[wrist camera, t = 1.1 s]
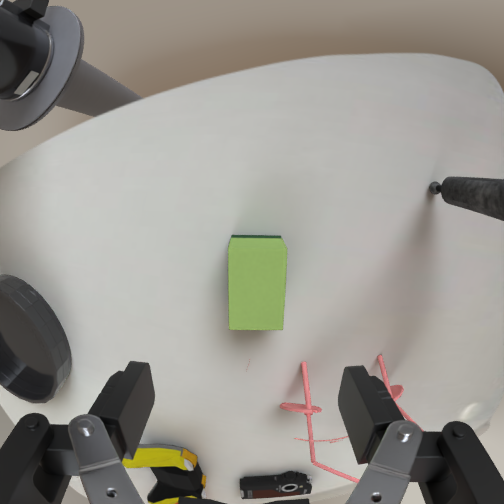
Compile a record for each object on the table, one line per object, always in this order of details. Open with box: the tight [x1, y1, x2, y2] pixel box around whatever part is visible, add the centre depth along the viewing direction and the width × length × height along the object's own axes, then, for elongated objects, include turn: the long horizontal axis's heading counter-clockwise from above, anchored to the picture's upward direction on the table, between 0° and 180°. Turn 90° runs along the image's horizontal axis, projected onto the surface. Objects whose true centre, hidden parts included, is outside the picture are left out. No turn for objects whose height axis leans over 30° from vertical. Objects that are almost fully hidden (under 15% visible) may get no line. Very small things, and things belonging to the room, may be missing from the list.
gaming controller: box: [122, 444, 206, 504], centre depth 34 cm, size 15×6×10 cm
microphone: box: [430, 177, 504, 221], centre depth 18 cm, size 7×7×20 cm
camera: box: [240, 471, 312, 499], centre depth 37 cm, size 6×3×11 cm
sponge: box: [228, 235, 287, 330], centre depth 27 cm, size 7×4×5 cm, turn 179°
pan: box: [0, 275, 71, 403], centre depth 29 cm, size 17×17×4 cm
